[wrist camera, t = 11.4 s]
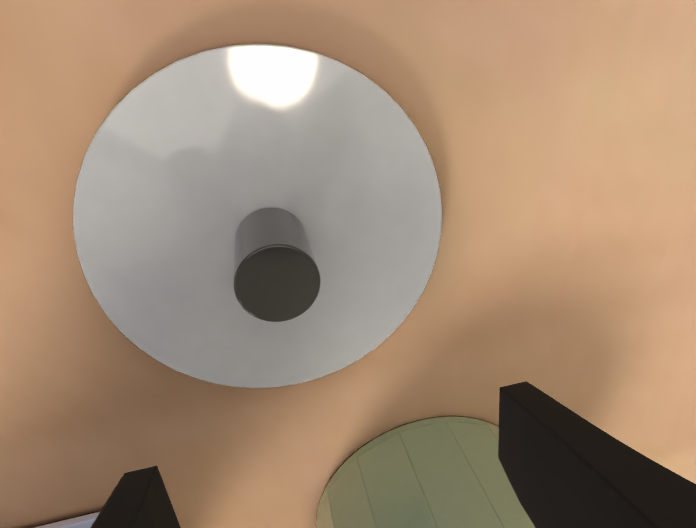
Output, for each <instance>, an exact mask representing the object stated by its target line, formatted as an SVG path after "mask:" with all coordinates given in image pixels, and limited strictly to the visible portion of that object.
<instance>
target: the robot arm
mask: <svg viewBox="0 0 696 528" xmlns="http://www.w3.org/2000/svg"><path fill="white" fill-rule="evenodd" d="M498 458H499V460H500V462H501V465H502V467H503V469H504V471H505V473H506V475H507V477H508V480H509V482H510V484H511V486H512V488H513V490H514V492H515V494H516V496H517V498H518V500H519V502H520V504H521V505H522V507H523V508H524V510H525V512H526V513H527V515H528V516H529V518H530V520H531V521H532V523H533V524H534V526H535V528H696V484H694V483H692V482H690V481H689V480H687V479H685V478H683V477H681V476H679V475H678V474H676V473H674V472H672V471H670V470H669V469H667V468H665V467H663V466H661V465H660V464H658V463H656V462H654V461H652V460H651V459H649V458H647V457H645V456H644V455H642V454H640V453H639V452H637V451H635V450H634V449H632V448H630V447H628V446H627V445H625V444H623V443H622V442H620V441H619V440H617V439H615V438H614V437H612V436H610V435H609V434H607V433H606V432H604V431H602V430H601V429H599V428H598V427H596V426H594V425H593V424H591V423H590V422H588V421H587V420H585V419H583V418H582V417H580V416H579V415H577V414H576V413H574V412H573V411H571V410H570V409H568V408H567V407H565V406H563V405H562V404H560V403H559V402H557V401H556V400H554V399H553V398H551V397H550V396H548V395H547V394H545V393H544V392H542V391H541V390H539V389H537V388H536V387H534V386H533V385H531V384H529V383H528V382H522V383H518V384H513V385H509V386H504V387H500V402H499V443H498ZM34 528H180V525H179V522H178V520H177V517H176V514H175V512H174V509H173V507H172V504H171V501H170V499H169V496H168V494H167V491H166V488H165V486H164V483H163V480H162V478H161V475H160V473H159V470H158V467H157V466H154V467H150V468H145V469H141V470H136V471H132V472H128V473H125V474H124V475H123V477H122V478H121V479H120V481H119V482H118V484H117V486H116V487H115V489H114V490H113V492H112V494H111V495H110V497H109V499H108V500H107V502H106V503H105V505H104V507H103V508H102V510H101V511H100V512H96V513H92V514H88V515H84V516H80V517H76V518H72V519H67V520H63V521H59V522H55V523H51V524H47V525H43V526H39V527H34Z"/></svg>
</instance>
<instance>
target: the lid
mask: <svg viewBox="0 0 696 528" xmlns="http://www.w3.org/2000/svg"><path fill="white" fill-rule="evenodd" d="M441 228H442V204H441V195H440V187H439V183H438V179H437V174H436V170H435V166H434V164H433V161H432V159H431V156H430V154H429V151H428V149H427V146H426V144H425V142H424V141H423V139H422V137H421V135H420V133H419V132H418V130H417V128H416V126H415V125H414V123H413V122H412V121H411V120H410V118H409V117H408V116H407V114H406V113H405V112H404V110H403V109H402V108H401V106H400V105H399V104H398V103H397V102H396V101H395V100H393V99H392V98H391V97H390V96H389V95H388V94H387V93H386V92H385V91H384V90H383V89H382V88H381V87H380V86H378V85H377V84H376V83H374V82H373V81H371V80H370V79H369V78H367V77H366V76H365V75H363V74H362V73H360V72H358V71H356V70H355V69H353V68H351V67H349V66H347V65H346V64H344V63H342V62H340V61H338V60H335V59H332V58H330V57H327V56H324V55H322V54H319V53H316V52H313V51H309V50H305V49H300V48H296V47H291V46H285V45H273V44H261V43H258V44H242V45H230V46H225V47H220V48H215V49H211V50H206V51H202V52H200V53H197V54H194V55H191V56H189V57H186V58H183V59H180V60H178V61H176V62H174V63H172V64H170V65H168V66H167V67H165V68H163V69H161V70H159V71H157V72H155V73H154V74H152V75H151V76H149V77H148V78H147V79H145V80H144V81H143V82H141V83H140V84H139V85H137V86H136V87H135V88H133V89H132V90H131V91H130V92H129V93H128V94H127V95H126V96H125V97H124V98H123V99H122V100H121V101H120V102H119V103H118V104H117V105H116V106H115V107H114V108H113V109H112V110H111V112H110V113H109V115H108V116H107V117H106V119H105V120H104V122H103V123H102V124H101V126H100V127H99V129H98V130H97V131H96V133H95V135H94V137H93V139H92V141H91V143H90V145H89V147H88V149H87V151H86V153H85V156H84V159H83V162H82V165H81V168H80V171H79V174H78V177H77V182H76V188H75V195H74V201H73V231H74V237H75V244H76V251H77V255H78V258H79V261H80V264H81V268H82V271H83V274H84V276H85V279H86V281H87V283H88V285H89V287H90V289H91V291H92V293H93V296H94V297H95V299H96V300H97V302H98V303H99V305H100V306H101V308H102V310H103V311H104V313H105V314H106V316H107V317H108V318H109V319H110V320H111V321H112V323H113V324H114V325H115V326H116V327H117V328H118V329H119V331H120V332H121V333H122V334H123V335H124V336H126V337H127V338H128V339H129V340H130V341H131V342H132V343H133V344H134V345H136V346H137V347H138V348H139V349H141V350H142V351H143V352H145V353H146V354H148V355H149V356H151V357H152V358H154V359H155V360H157V361H158V362H160V363H162V364H164V365H166V366H168V367H170V368H172V369H173V370H175V371H178V372H180V373H183V374H185V375H188V376H191V377H193V378H196V379H199V380H203V381H207V382H211V383H214V384H219V385H226V386H232V387H241V388H272V387H283V386H289V385H294V384H300V383H304V382H307V381H311V380H315V379H318V378H321V377H324V376H326V375H329V374H331V373H334V372H336V371H339V370H341V369H343V368H344V367H346V366H348V365H350V364H352V363H354V362H356V361H358V360H359V359H361V358H362V357H364V356H365V355H367V354H368V353H369V352H371V351H372V350H374V349H375V348H376V347H377V346H379V345H380V344H381V343H382V342H383V341H384V340H386V339H387V338H388V337H389V336H390V335H391V334H392V333H393V332H394V331H395V330H396V329H397V328H398V327H399V326H400V324H401V323H402V322H403V321H404V320H405V318H406V317H407V316H408V314H409V313H410V312H411V310H412V309H413V308H414V306H415V305H416V303H417V301H418V299H419V298H420V296H421V294H422V293H423V291H424V289H425V287H426V284H427V282H428V280H429V278H430V275H431V273H432V271H433V267H434V264H435V260H436V257H437V253H438V249H439V243H440V236H441Z"/></svg>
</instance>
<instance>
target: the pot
mask: <svg viewBox="0 0 696 528" xmlns="http://www.w3.org/2000/svg"><path fill="white" fill-rule="evenodd" d="M498 443H499V427H497V426H495V425H493V424H491V423H489V422H485V421H482V420H478V419H474V418H467V417H451V416H449V417H436V418H430V419H425V420H419V421H416V422H412V423H409V424H406V425H403V426H400V427H398V428H395V429H393V430H390V431H388V432H386V433H384V434H383V435H381V436H379V437H377V438H375V439H373V440H372V441H370V442H369V443H367V444H366V445H364V446H363V447H361V448H360V449H359V450H358V451H356V452H355V453H354V454H353V455H352V456H350V457H349V458H348V459H347V460H346V461H345V462H344V463H343V464H342V465H341V466H340V468H339V469H338V470H337V471H336V473H335V474H334V475H333V477H332V478H331V480H330V481H329V483H328V485H327V486H326V488H325V490H324V492H323V495H322V497H321V499H320V503H319V507H318V511H317V521H316V528H535V526H534V524H533V523H532V521H531V520H530V518H529V516H528V515H527V513H526V512H525V510H524V508H523V507H522V505H521V504H520V502H519V500H518V498H517V496H516V494H515V492H514V490H513V488H512V486H511V484H510V482H509V480H508V477H507V475H506V473H505V471H504V469H503V467H502V465H501V462H500V460H499V458H498Z"/></svg>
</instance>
